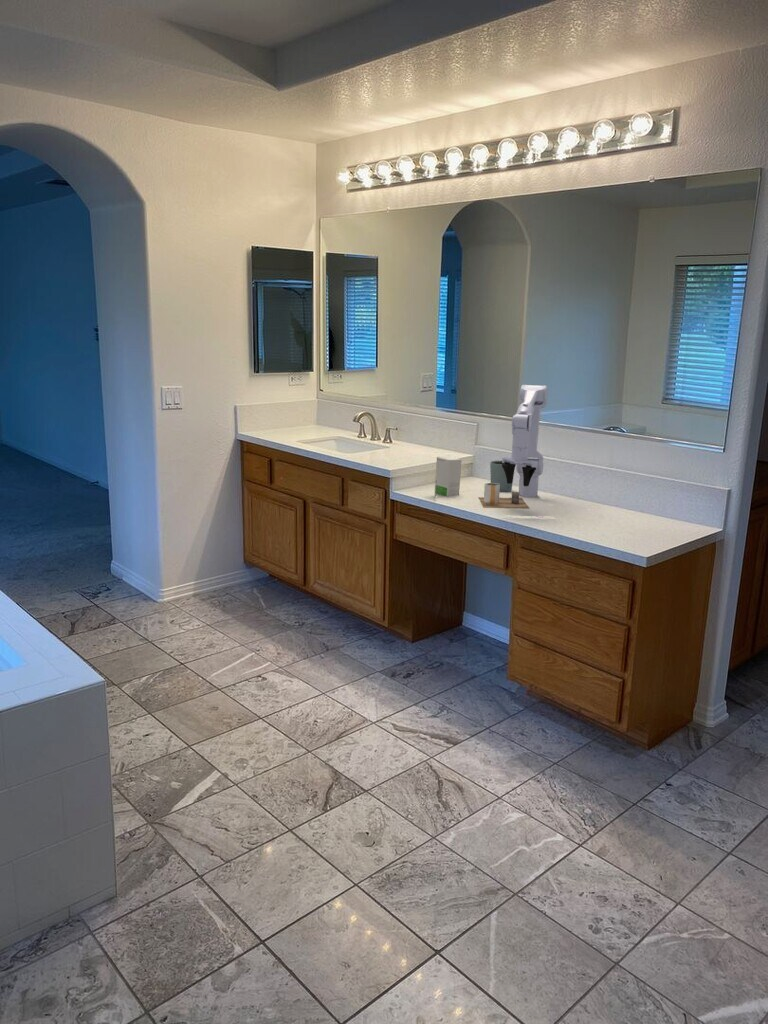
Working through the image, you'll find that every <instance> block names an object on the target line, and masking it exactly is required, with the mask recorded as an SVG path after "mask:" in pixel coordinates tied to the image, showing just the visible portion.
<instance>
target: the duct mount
mask: <svg viewBox="0 0 768 1024" xmlns="http://www.w3.org/2000/svg"><path fill="white" fill-rule="evenodd" d="M478 500H479V503H480V505H481V506H482V507H483V509H522V510H524V509H531V508H530V506H529V505H528V504H527V502H526V501H525V500H524V499H523V498H522V497H520V495H519V491H511V497H499V503H498V504H486V503H484V496H482V497H481V496H479V497H478Z"/></svg>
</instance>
